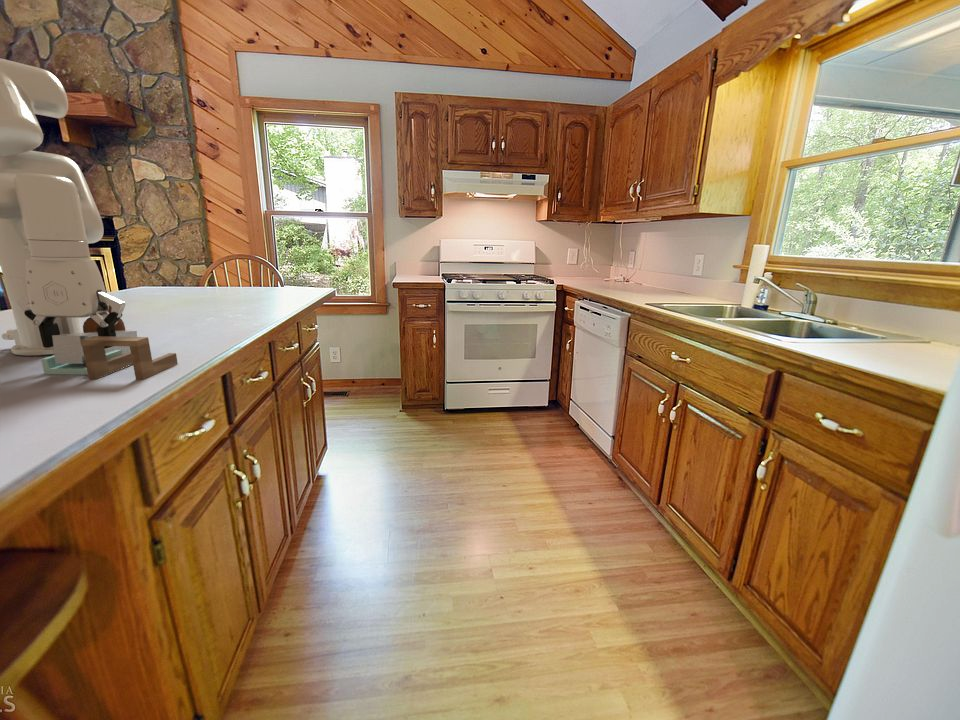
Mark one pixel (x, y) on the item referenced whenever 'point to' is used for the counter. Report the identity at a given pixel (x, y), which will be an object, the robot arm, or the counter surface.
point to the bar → (81, 346)
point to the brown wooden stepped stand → (123, 357)
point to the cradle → (70, 365)
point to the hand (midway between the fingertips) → (81, 346)
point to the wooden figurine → (92, 326)
